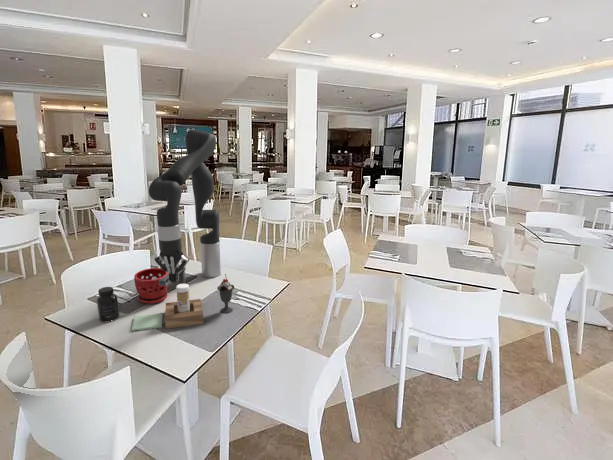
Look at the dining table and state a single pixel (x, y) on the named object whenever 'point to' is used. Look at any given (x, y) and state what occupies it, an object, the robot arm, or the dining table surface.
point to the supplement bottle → (107, 304)
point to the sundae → (226, 294)
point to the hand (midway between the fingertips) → (174, 281)
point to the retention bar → (166, 278)
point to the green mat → (147, 321)
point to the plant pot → (150, 285)
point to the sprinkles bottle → (183, 298)
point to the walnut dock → (183, 319)
